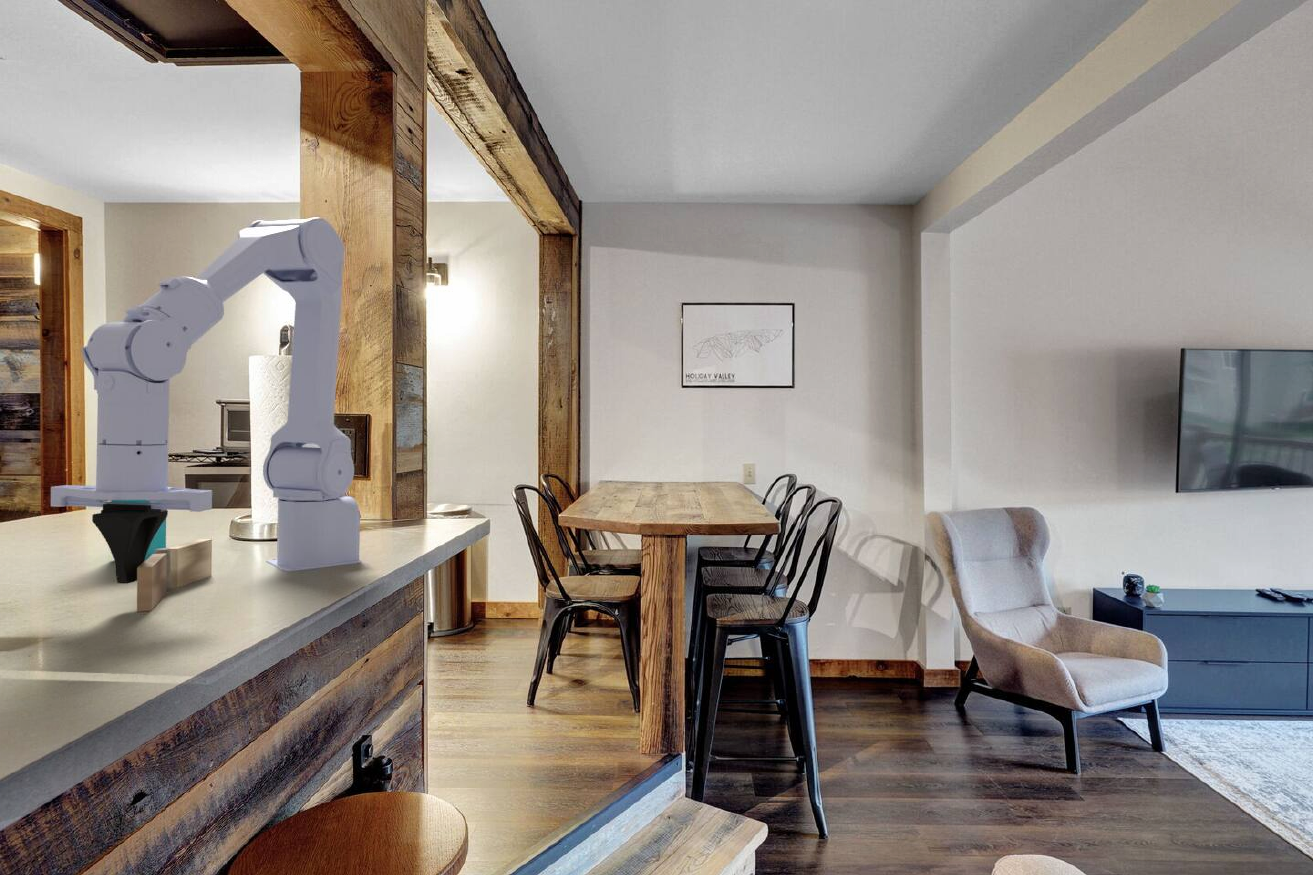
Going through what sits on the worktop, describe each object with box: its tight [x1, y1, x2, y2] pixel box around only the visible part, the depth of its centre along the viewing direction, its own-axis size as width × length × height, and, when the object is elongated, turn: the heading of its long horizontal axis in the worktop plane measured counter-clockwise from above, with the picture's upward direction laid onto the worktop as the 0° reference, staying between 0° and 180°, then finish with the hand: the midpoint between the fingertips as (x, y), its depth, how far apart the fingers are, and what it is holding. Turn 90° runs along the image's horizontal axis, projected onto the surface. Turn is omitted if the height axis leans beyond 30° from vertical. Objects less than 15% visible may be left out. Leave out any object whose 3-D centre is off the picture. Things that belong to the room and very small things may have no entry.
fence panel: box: [136, 553, 167, 612], centre depth 73 cm, size 7×1×4 cm, turn 25°
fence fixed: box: [155, 538, 213, 593], centre depth 81 cm, size 8×1×5 cm, turn 0°
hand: (130, 581), depth 71 cm, fingers closed, pressing on fence panel
